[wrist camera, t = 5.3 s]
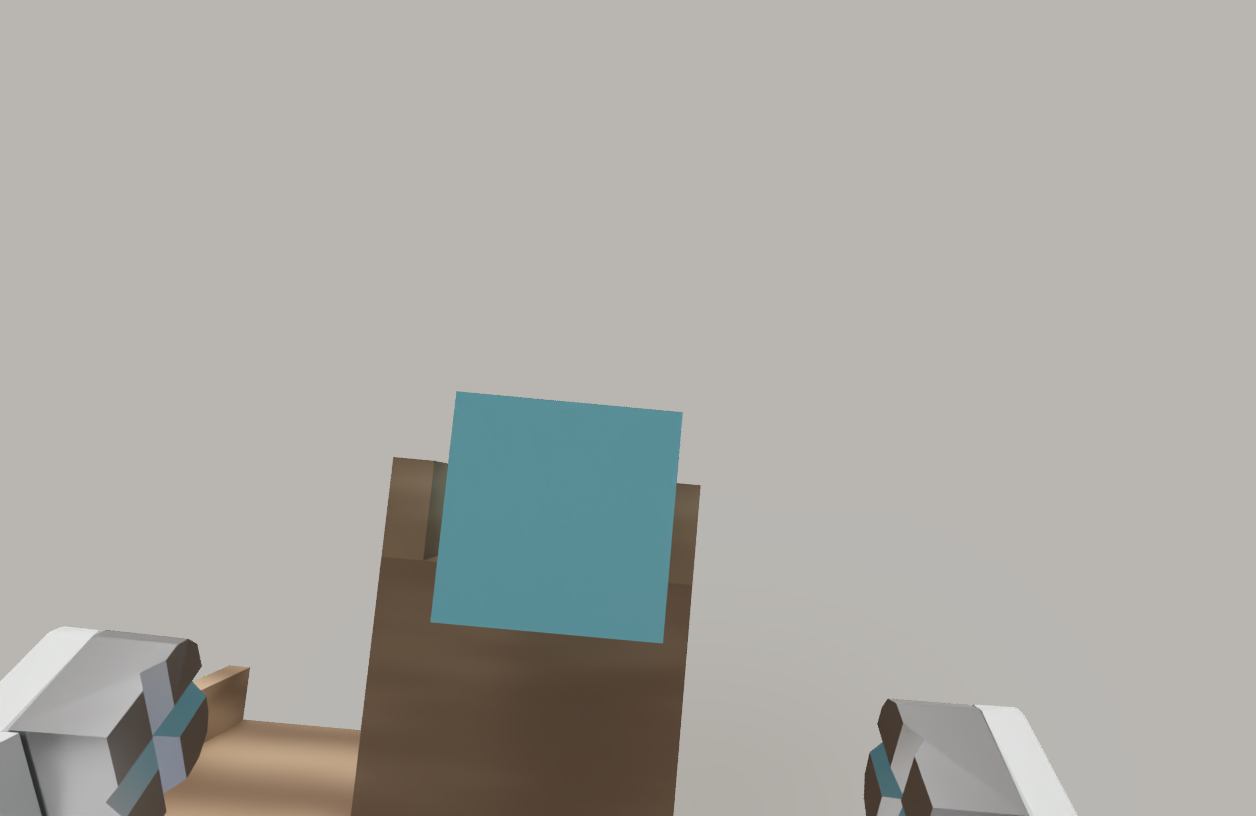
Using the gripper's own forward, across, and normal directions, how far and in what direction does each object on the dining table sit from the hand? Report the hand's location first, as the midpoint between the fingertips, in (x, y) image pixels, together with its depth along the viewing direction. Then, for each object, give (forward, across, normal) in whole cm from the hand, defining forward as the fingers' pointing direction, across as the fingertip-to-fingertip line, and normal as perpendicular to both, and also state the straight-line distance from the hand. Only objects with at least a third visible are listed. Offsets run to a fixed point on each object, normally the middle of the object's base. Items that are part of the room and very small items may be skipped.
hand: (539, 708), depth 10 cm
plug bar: (+11, 0, +6) cm, 12 cm away
